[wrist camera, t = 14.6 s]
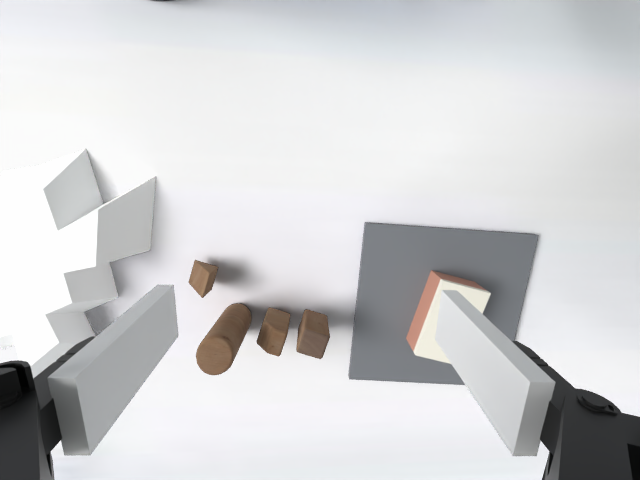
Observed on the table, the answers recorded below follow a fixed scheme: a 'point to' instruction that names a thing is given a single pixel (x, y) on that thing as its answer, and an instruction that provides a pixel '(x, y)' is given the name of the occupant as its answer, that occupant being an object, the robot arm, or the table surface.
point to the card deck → (428, 309)
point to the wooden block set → (236, 320)
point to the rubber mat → (408, 285)
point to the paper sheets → (62, 253)
